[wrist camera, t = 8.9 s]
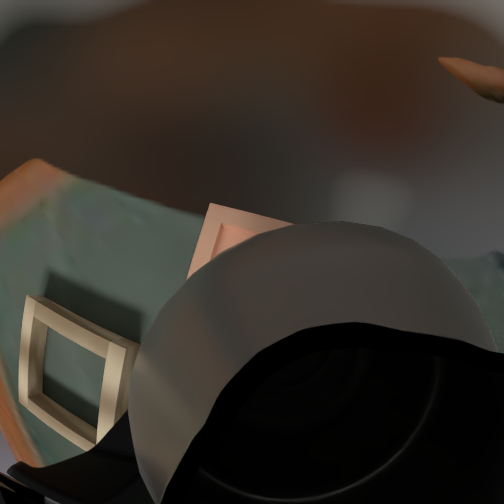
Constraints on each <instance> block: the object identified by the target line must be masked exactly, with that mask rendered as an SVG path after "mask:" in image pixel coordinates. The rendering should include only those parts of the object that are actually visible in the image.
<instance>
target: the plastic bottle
mask: <svg viewBox="0 0 504 504" xmlns="http://www.w3.org/2000/svg"><path fill="white" fill-rule="evenodd" d="M128 415H129V422H130V428H131V434H132V440H133V445H134V450H135V455H136V459H137V463H138V468H139V472H140V474H141V476H142V479H143V481H144V483H145V485H146V487H147V489H148V491H149V493H150V495H151V497H152V499H153V501H154V503H155V504H504V354H503V353H498V350H497V347H496V345H495V342H494V339H493V337H492V334H491V332H490V329H489V327H488V325H487V322H486V320H485V318H484V316H483V314H482V312H481V310H480V308H479V306H478V305H477V303H476V302H475V300H474V299H473V298H472V296H471V295H470V293H469V292H468V291H467V289H466V288H465V287H464V285H463V284H462V283H461V282H460V280H459V279H458V278H457V277H456V276H455V275H454V273H453V272H452V271H451V270H450V269H449V268H448V267H447V265H446V264H445V263H444V262H443V261H442V260H441V259H440V258H439V257H437V256H436V255H435V254H433V253H432V252H430V251H429V250H428V249H426V248H425V247H423V246H422V245H420V244H419V243H418V242H416V241H415V240H413V239H410V238H408V237H405V236H403V235H400V234H398V233H395V232H393V231H390V230H387V229H385V228H382V227H377V226H371V225H365V224H358V223H351V222H344V221H341V222H321V223H305V224H293V225H289V226H286V227H282V228H278V229H274V230H271V231H267V232H263V233H260V234H257V235H255V236H252V237H250V238H248V239H246V240H244V241H242V242H240V243H238V244H236V245H234V246H232V247H230V248H228V249H226V250H224V251H222V252H221V253H219V254H218V255H217V256H215V257H214V258H213V259H211V260H210V261H209V262H207V263H206V264H205V265H204V266H202V267H201V268H200V269H198V270H197V271H196V272H194V273H193V274H192V275H191V276H190V277H189V278H188V279H187V280H186V281H185V283H184V284H183V285H182V286H181V287H180V288H179V289H178V290H177V291H176V293H175V294H174V295H173V296H172V297H171V298H170V299H169V300H168V302H167V303H166V304H165V305H164V307H163V308H162V309H161V310H160V312H159V313H158V315H157V317H156V318H155V320H154V322H153V324H152V325H151V327H150V329H149V331H148V332H147V334H146V336H145V338H144V340H143V341H142V343H141V345H140V348H139V351H138V354H137V357H136V361H135V364H134V367H133V371H132V374H131V377H130V386H129V402H128Z"/></svg>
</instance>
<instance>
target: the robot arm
mask: <svg viewBox="0 0 504 504" xmlns="http://www.w3.org/2000/svg"><path fill="white" fill-rule="evenodd" d="M7 473H8V474H9V475H10V476H11V477H13V478H14V479H13V478H11V477H9V476H7V475H5V474H3V473H1V472H0V504H155V503H154V501H153V499H152V497H151V495H150V493H149V491H148V489H147V487H146V485H145V483H144V481H143V479H142V476H141V474H140V472H139V468H138V463H137V459H136V455H135V450H134V445H133V440H132V434H131V428H130V422H129V415H128V409H127V410H126V412H125V413H124V414H123V415H122V416H121V418H120V419H119V420H118V421H117V422H116V423H115V424H114V426H113V427H112V428H111V429H110V430H109V431H108V432H107V433H106V435H105V436H104V437H103V438H102V439H101V440H100V441H99V442H98V443H97V444H96V445H95V446H94V447H93V448H92V449H90V450H89V451H87V452H85V453H82V454H80V455H77V456H75V457H72V458H69V459H67V460H64V461H61V462H58V463H56V464H53V465H50V466H46V467H42V468H35V467H32V466H30V465H28V464H26V463H24V462H22V461H19V462H17V463H16V464H14V465H12V466H11V467H10V468H9V469H8V470H7ZM15 479H16V480H15Z"/></svg>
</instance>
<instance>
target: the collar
mask: <svg viewBox="0 0 504 504" xmlns="http://www.w3.org/2000/svg"><path fill="white" fill-rule="evenodd" d="M48 326H49V327H51V328H52V329H54V330H55V331H57V332H59V333H60V334H62V335H64V336H65V337H67V338H69V339H70V340H72V341H74V342H76V343H77V344H79V345H81V346H83V347H84V348H86V349H88V350H90V351H92V352H94V353H96V354H98V355H100V356H101V357H103V358H105V359H106V365H105V371H104V377H103V384H102V391H101V399H100V407H99V416H98V427H97V428H95V427H93V426H91V425H90V424H88V423H86V422H85V421H83V420H81V419H80V418H78V417H77V416H75V415H73V414H72V413H70V412H69V411H67V410H66V409H64V408H63V407H61V406H60V405H59V404H57V403H56V402H54V401H53V400H51V399H50V398H49V397H47V396H46V395H45V394H43V393H42V387H43V369H44V357H45V347H46V338H47V331H48ZM139 347H140V344H138V343H136V342H133V341H131V340H129V339H126V338H124V337H122V336H120V335H117V334H115V333H113V332H111V331H109V330H107V329H104V328H102V327H100V326H98V325H96V324H94V323H92V322H90V321H88V320H86V319H84V318H82V317H80V316H78V315H76V314H75V313H73V312H71V311H69V310H67V309H65V308H63V307H62V306H60V305H58V304H56V303H54V302H53V301H51V300H49V299H47V298H46V297H44V296H35V295H27V296H26V302H25V309H24V316H23V323H22V332H21V343H20V357H19V402H20V403H21V404H22V405H24V406H25V407H26V408H27V409H28V410H29V411H31V412H32V413H33V414H34V415H36V416H37V417H38V418H39V419H41V420H42V421H43V422H44V423H46V424H47V425H48V426H50V427H51V428H52V429H54V430H55V431H57V432H58V433H59V434H61V435H62V436H64V437H65V438H67V439H68V440H70V441H71V442H73V443H74V444H76V445H77V446H79V447H80V448H82V449H84V450H85V451H89V450H90V449H92V448H93V447H94V446H95V445H96V444H97V443H98V442H99V441H100V440H101V439H102V438H103V437H104V436H105V435H106V433H107V432H108V431H109V430H110V429H111V428H112V427H113V426H114V424H115V423H116V422H117V421H118V420H119V419H120V418H121V416H122V415H123V414H124V413H125V412H126V410H127V409H128V402H129V386H130V377H131V374H132V371H133V367H134V364H135V361H136V357H137V354H138V351H139Z"/></svg>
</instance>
